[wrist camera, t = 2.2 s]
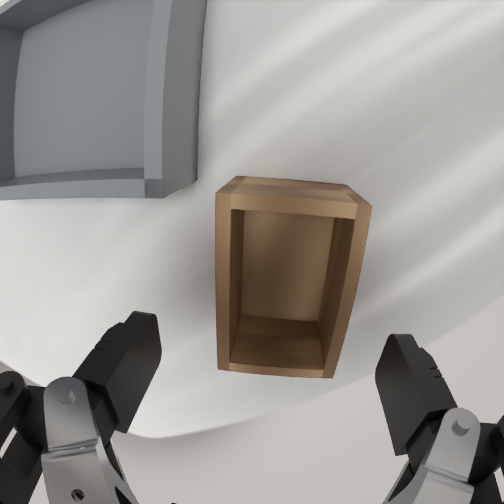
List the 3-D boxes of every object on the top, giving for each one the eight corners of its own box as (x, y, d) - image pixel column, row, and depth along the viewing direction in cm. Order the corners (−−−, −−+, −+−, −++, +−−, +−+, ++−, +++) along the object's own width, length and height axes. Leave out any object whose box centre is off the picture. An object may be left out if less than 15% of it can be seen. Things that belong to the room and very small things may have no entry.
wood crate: (346, 185, 15) (371, 205, 11) (324, 324, 19) (332, 378, 14) (236, 176, 16) (215, 192, 11) (232, 316, 19) (217, 369, 14)
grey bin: (210, -31, 11) (186, -73, 6) (196, 179, 16) (162, 198, 11) (26, 27, 12) (-17, 20, 8) (17, 185, 17) (-29, 202, 13)
